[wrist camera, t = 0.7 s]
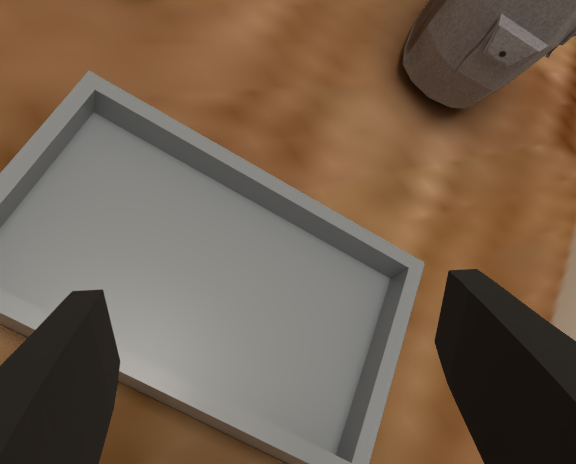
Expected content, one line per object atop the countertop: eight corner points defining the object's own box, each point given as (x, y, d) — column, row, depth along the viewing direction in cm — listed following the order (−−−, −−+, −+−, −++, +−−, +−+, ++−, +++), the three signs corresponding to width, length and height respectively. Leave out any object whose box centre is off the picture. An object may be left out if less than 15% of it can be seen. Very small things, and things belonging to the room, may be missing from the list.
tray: (336, 487, 25) (361, 489, 23) (-70, 290, 22) (-85, 271, 20) (400, 276, 31) (424, 262, 29) (87, 100, 28) (88, 70, 26)
